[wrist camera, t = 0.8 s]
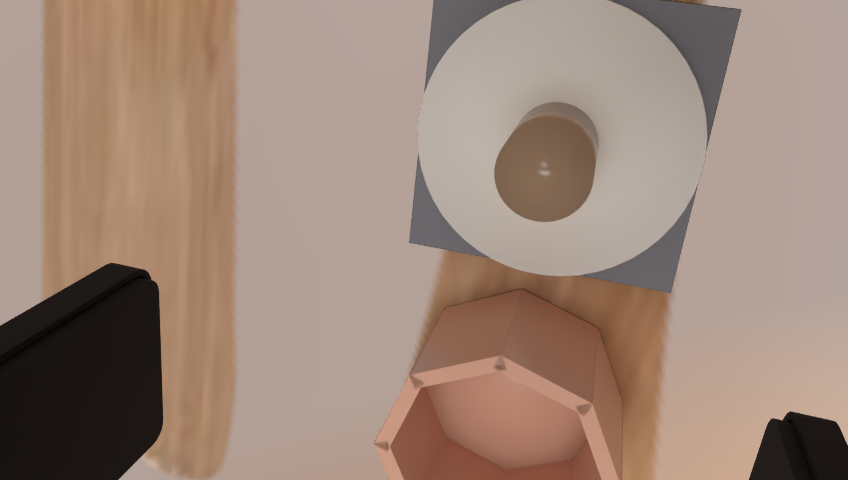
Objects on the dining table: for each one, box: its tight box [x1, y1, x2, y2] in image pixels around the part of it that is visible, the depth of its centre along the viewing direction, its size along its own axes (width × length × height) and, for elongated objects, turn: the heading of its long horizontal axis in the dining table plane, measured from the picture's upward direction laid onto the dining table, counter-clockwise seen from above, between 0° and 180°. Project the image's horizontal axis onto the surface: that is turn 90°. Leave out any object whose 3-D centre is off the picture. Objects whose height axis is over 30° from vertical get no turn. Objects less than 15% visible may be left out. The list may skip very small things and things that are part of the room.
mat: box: [409, 0, 741, 293], centre depth 29 cm, size 11×11×1 cm
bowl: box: [374, 289, 623, 480], centre depth 31 cm, size 9×9×6 cm
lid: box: [417, 0, 707, 276], centre depth 27 cm, size 11×11×6 cm
